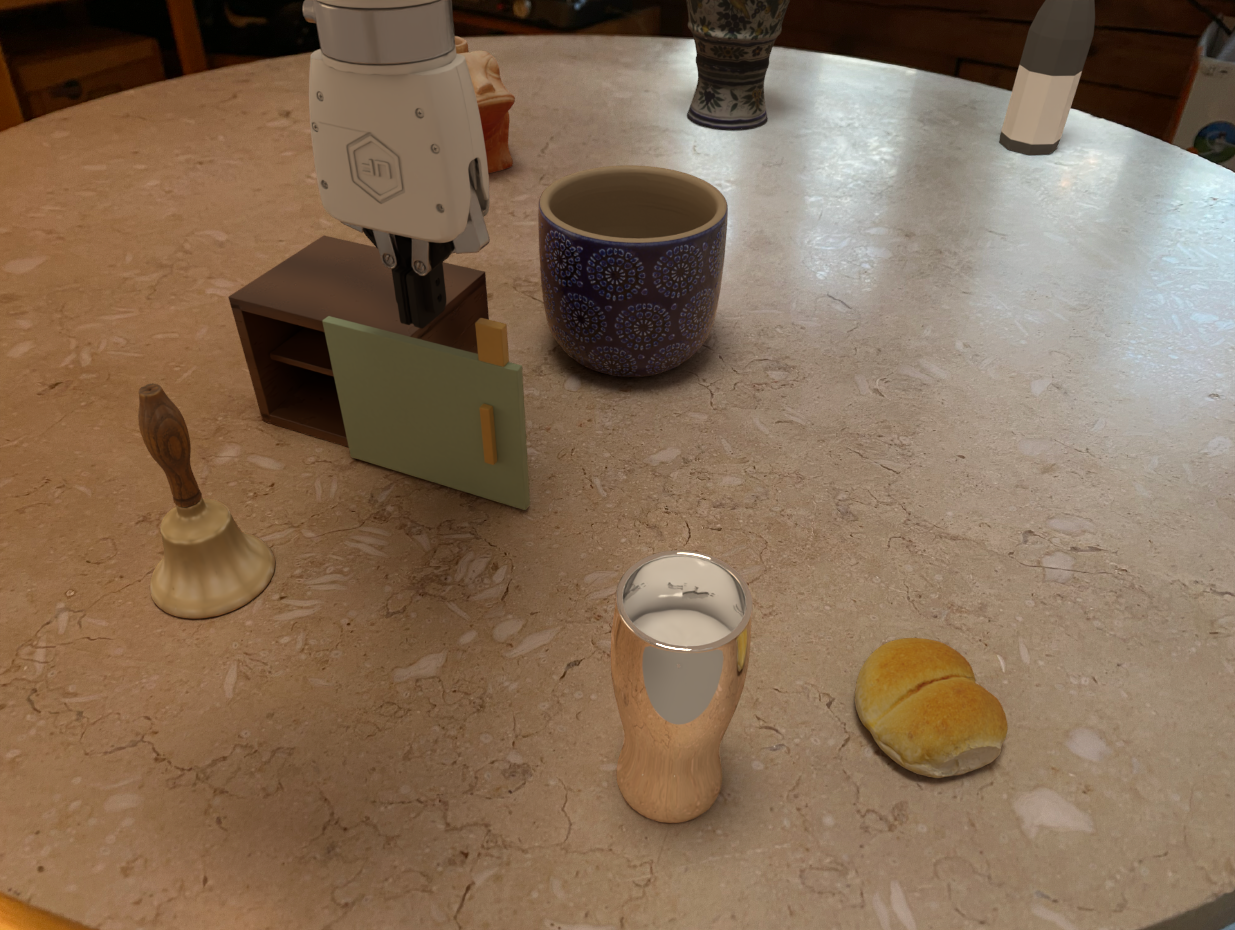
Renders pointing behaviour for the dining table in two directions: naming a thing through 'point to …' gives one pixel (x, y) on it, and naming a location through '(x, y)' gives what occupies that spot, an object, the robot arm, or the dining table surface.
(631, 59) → the dining table surface
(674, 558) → the beer glass
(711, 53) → the vase
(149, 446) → the hand bell
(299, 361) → the cupboard
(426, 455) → the sliding door
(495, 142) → the ceramic vessel
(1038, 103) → the wine bottle
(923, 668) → the bread roll
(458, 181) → the robot arm
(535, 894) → the dining table surface
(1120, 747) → the dining table surface
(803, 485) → the dining table surface
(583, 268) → the planter
